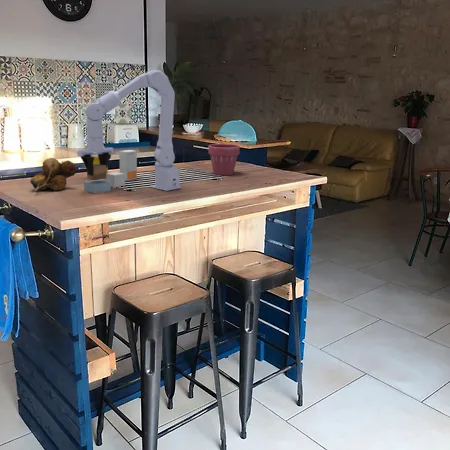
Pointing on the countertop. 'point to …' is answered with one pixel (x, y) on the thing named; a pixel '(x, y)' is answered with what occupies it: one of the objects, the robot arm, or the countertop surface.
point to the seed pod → (53, 174)
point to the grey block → (116, 179)
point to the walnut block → (98, 172)
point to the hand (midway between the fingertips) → (96, 174)
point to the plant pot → (223, 158)
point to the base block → (97, 186)
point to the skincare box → (128, 164)
